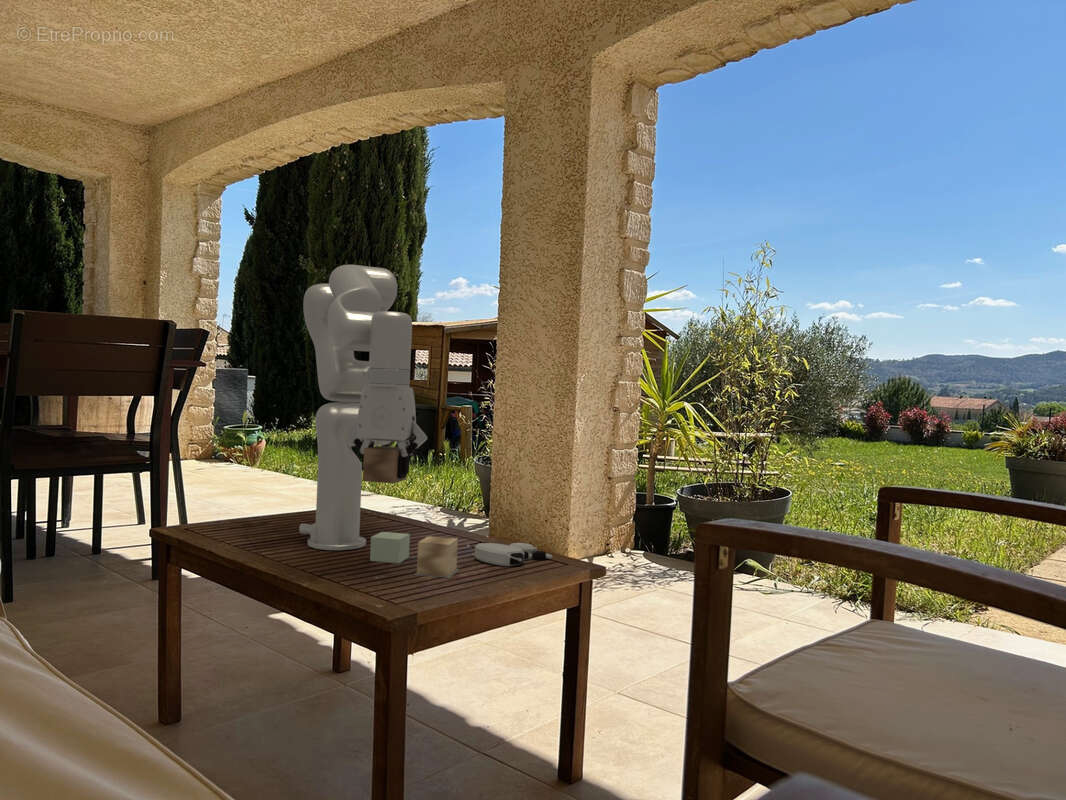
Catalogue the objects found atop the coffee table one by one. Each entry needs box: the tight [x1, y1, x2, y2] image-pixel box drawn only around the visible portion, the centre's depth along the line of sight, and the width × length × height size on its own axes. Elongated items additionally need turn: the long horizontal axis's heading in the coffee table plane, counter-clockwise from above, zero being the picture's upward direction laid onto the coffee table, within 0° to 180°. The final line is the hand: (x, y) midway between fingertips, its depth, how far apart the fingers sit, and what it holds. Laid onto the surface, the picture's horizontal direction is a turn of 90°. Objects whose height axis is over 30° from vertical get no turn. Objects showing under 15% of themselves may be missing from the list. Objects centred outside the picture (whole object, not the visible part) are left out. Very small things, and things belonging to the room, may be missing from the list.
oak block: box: [416, 535, 459, 578], centre depth 151 cm, size 6×6×6 cm
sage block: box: [369, 531, 411, 564], centre depth 160 cm, size 6×6×6 cm
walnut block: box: [362, 445, 407, 484], centre depth 147 cm, size 6×6×6 cm
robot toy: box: [466, 542, 553, 567], centre depth 165 cm, size 12×4×15 cm
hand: (385, 475), depth 147 cm, fingers closed on walnut block, 6 cm apart
